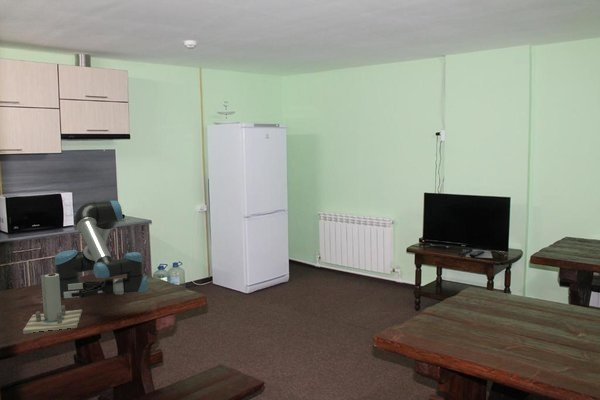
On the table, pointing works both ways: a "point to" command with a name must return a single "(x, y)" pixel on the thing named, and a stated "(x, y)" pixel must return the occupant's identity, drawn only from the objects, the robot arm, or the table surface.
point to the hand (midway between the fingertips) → (65, 291)
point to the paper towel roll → (51, 296)
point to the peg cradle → (63, 321)
